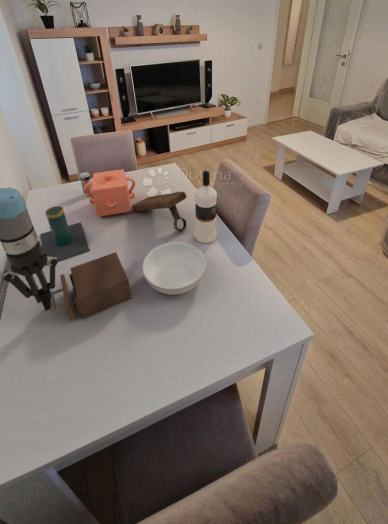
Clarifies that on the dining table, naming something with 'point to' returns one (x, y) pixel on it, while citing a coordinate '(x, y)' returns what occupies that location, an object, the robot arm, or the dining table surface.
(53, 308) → the drawer
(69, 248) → the mat
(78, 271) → the cabinet
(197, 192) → the vodka
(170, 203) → the bottle opener
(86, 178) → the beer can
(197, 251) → the serving bowl
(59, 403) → the dining table surface
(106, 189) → the orange box
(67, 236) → the tin
